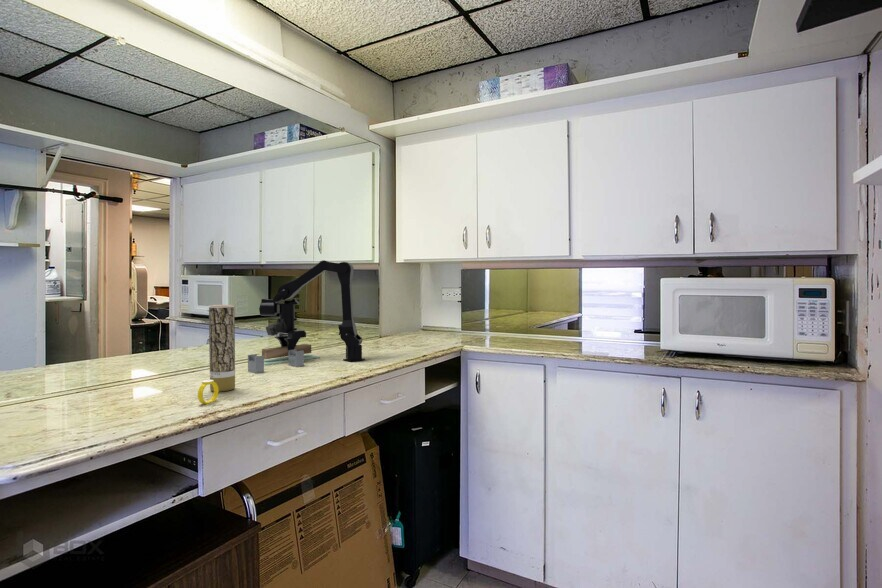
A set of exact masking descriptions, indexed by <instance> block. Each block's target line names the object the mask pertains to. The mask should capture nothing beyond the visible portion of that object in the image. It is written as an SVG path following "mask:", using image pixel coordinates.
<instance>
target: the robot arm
mask: <svg viewBox="0 0 882 588" xmlns="http://www.w3.org/2000/svg"><path fill="white" fill-rule="evenodd" d="M327 271H328V272H334V273H337V274H336V275H337V277H338V280H339V284H340V289H341V291H340V292H341V293H340V294H341V309H342V323H339V324H338V331H339V332H338V336H340V339H341V340H342V341H343V342H344V343H345V358H343V359H342V360H343V361H345V362H351V361H352V363H353V362H354V361H355V362H360V361H365V360H366V358H363V345H362V342H363V340H364V339H363V337H362V336H360V335H359V334H358V329H357V325H356V323H355V319H354V309H353V308H354V307H353V293H352V292H353V290H352V284H353V283H352V282H353V280H354V279H353V278H354V271H355V270H354V266H353V264H351V263H350V262H347V261H341V262H339V263H337V262H331V261H328V260H320V261H319V262H318V263H317V264H316V265H314V266H313V267H312V268H310V269H308V270H307V271H305V272H304V273H302V274H301V275H300V276H298V277H297V278H295V279H293V280H291V281H288V282H286V283H284V284H282V285H280V286H279V287H278V288H277V293H276V295H275V296H274V297H273V299H272V298H270V299H267V298H261V302H260V304H259V308H258V309H259V310H258V311H259V315H260V316H261V317H262V316H264V317H266V316H267V317H270V316H274V317H275V316H276V317H277V315H278V314H279V318H277V319H276V322H274V323H272V324H270V325H268V326H265V330H266V333H267V336H272V337H273V336H274V338H275V339H276V340H278V342H279V344H280V347H285V346H288V350H293V349H294V348H295V346H296V345H298V343H299V341H300V339H304V338H307V331H305V330H304V329H303V330H302V329H298V328H297V327H296V326H295V325H296V324H295V323H296V322H295V321H298V319H297V317H295V310H296V309H295V306H296V305H300V301H298V300H297V298H294V297H295V296H297V294H298V293H299V292H301V290H302V289H303V287H305V286H306V285H307V284H309V283H310V282H312V281H313V280H315V279H316V278H317V277H319V276H321V275H323V273H325V272H327ZM292 298H293V299H292ZM283 301H284V302H283Z"/></svg>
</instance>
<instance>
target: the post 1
mask: <svg viewBox="0 0 882 588" xmlns="http://www.w3.org/2000/svg"><path fill="white" fill-rule="evenodd" d="M264 360H265V359H264V356H262V355H258V354H256V353H253V354H247V372H250V373H252V374H259V373H260V374H261V372H262V373H265V366H264Z"/></svg>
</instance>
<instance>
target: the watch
mask: <svg viewBox="0 0 882 588" xmlns="http://www.w3.org/2000/svg"><path fill="white" fill-rule="evenodd" d="M201 383H202V384H201V385H200V386H199V387H198V390H197V398H198V402H199V403H201V404H202V405H208V403H209V404H210V402H211V403H214V402H215V401H216V400H217V398H218V396H219V390H218V386H217V384H216V383H215V382H214V380H210V379H205V380H204V379H203V380H202V381H201ZM210 384H212V385H213V387H214V391H213V394H212V396H211V398H210V399H209V400H207V401H205V398H204V397H203V396H204V390H205V388H206V387H207V386H208V385H210ZM213 401H214V402H213Z"/></svg>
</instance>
